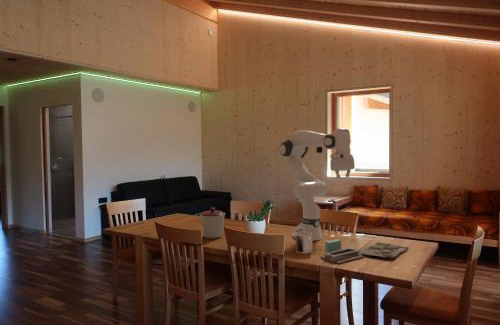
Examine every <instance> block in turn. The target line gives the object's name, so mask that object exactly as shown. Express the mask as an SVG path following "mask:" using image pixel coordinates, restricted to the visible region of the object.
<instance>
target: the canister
mask: <svg viewBox="0 0 500 325" xmlns="http://www.w3.org/2000/svg"><path fill="white" fill-rule="evenodd" d="M225 215H226V213H225V212H224V211H222V210H216V208H215V207H210V208H209V210H206V211H203V212H201V213H200V214H199V216H200V222H201V230H202V235H203V237H204V238H206V239H210V240H211V239H219V238H221V237H222V236H223V234H224V225H225V224H224V223H225Z"/></svg>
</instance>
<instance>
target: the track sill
mask: <svg viewBox="0 0 500 325" xmlns="http://www.w3.org/2000/svg"><path fill="white" fill-rule="evenodd" d="M359 251H360V250H358V249H356V248H352V247H346V248H341V250H337V251H333V252H328V253H325V252H324V255H320V259H322V260H325V261H327V260H328V261H327V262H330V261H331V263H333V262H334V264H337V265H343V264H345V263H349V262H353V261H357V260H361V259H364V258H365V256H364V255H361V254H360V253H359Z"/></svg>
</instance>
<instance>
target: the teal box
mask: <svg viewBox="0 0 500 325" xmlns="http://www.w3.org/2000/svg"><path fill="white" fill-rule="evenodd" d="M324 247H325V248H324V249H325V251H324V253H328V252H333V251H337V250H341V249H342V240H341V239H338V238H336V239H333V240H327V241H325V243H324Z"/></svg>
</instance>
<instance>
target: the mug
mask: <svg viewBox="0 0 500 325" xmlns="http://www.w3.org/2000/svg"><path fill="white" fill-rule="evenodd" d="M313 245H314V244H313V241H312V233H311V232H297V233H296V238H295V251H296V253H299V254H311V253H312V252H313V248H314V246H313Z"/></svg>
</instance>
